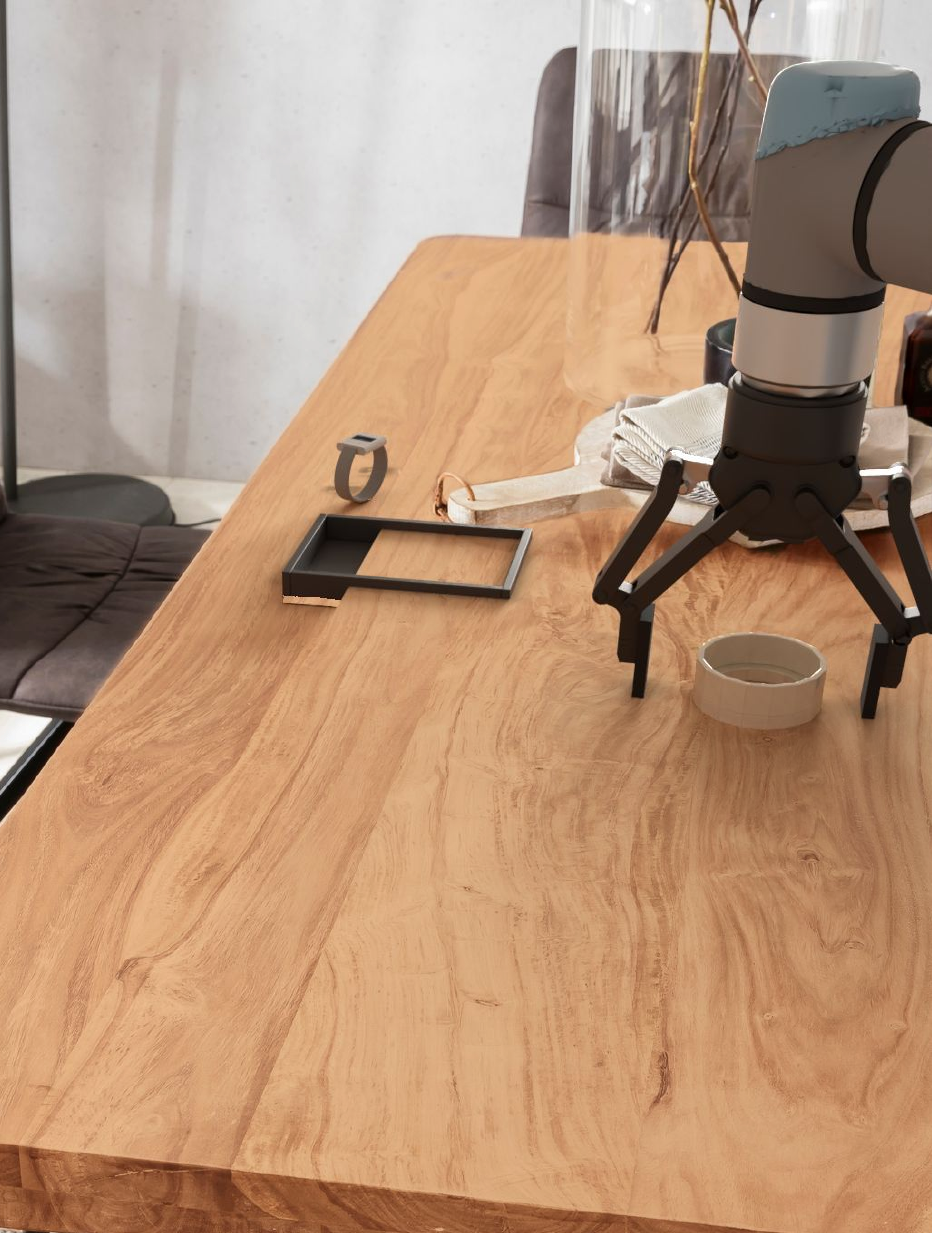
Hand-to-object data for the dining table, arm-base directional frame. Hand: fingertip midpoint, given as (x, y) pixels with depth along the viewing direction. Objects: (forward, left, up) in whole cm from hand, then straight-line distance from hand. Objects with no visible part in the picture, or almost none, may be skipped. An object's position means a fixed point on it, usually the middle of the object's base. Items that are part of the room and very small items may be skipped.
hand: (748, 720), depth 106 cm
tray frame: (+25, -18, 0) cm, 30 cm away
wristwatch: (+32, -33, 0) cm, 46 cm away
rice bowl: (0, 0, 0) cm, 0 cm away
